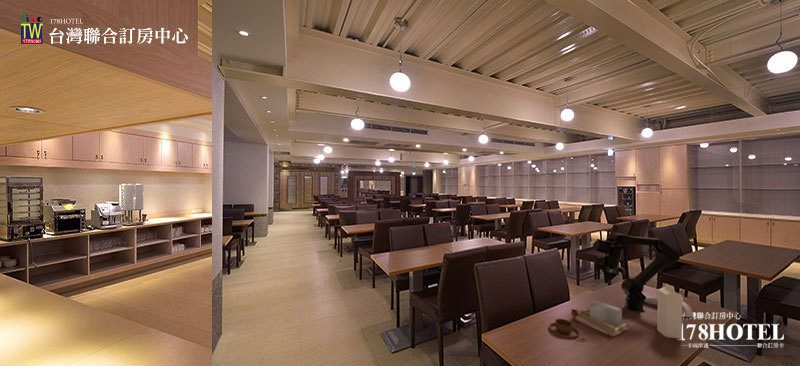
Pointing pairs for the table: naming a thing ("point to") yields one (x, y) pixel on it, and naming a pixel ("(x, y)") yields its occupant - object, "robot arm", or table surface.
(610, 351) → the table surface
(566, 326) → the brown cup and saucer
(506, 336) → the table surface
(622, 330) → the birch bay
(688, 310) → the spoon rest
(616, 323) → the t block
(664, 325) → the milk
